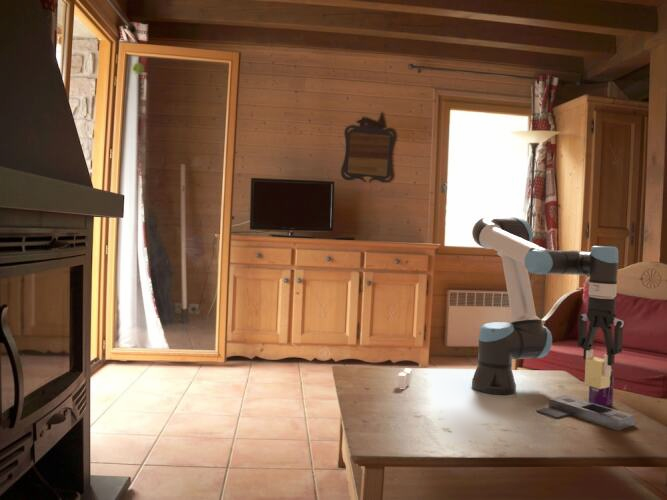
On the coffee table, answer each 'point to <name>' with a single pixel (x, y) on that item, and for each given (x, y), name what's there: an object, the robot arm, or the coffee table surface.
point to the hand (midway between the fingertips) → (597, 373)
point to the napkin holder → (404, 378)
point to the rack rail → (593, 412)
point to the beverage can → (602, 394)
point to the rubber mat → (553, 412)
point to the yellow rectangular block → (596, 373)
